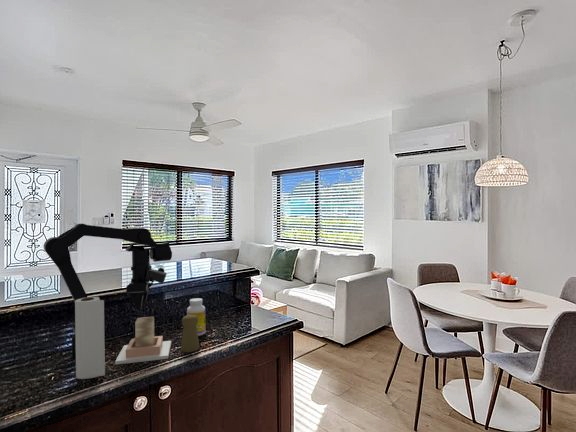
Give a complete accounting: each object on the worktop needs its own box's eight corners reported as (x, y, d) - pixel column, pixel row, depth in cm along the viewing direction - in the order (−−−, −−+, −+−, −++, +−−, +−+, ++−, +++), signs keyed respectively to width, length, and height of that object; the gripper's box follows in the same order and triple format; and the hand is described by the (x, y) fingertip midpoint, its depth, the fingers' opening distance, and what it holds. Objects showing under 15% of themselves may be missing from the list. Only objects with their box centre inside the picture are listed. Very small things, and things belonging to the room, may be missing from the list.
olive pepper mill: (194, 352, 110) (194, 318, 110) (177, 351, 112) (176, 317, 112) (202, 345, 116) (202, 313, 116) (186, 344, 118) (186, 312, 117)
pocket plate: (115, 364, 102) (115, 352, 102) (124, 348, 115) (124, 337, 115) (168, 358, 106) (168, 347, 106) (171, 343, 119) (171, 333, 119)
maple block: (135, 354, 107) (135, 322, 107) (138, 348, 112) (137, 317, 112) (152, 352, 109) (152, 320, 109) (154, 346, 113) (154, 316, 113)
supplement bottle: (206, 335, 126) (206, 300, 126) (188, 338, 124) (187, 302, 124) (204, 329, 132) (203, 296, 132) (186, 332, 130) (186, 298, 130)
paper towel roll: (73, 374, 96) (72, 298, 96) (97, 367, 100) (96, 295, 100) (80, 383, 91) (79, 303, 91) (105, 375, 95) (103, 299, 95)
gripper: (161, 265, 114) (162, 312, 114) (167, 258, 132) (168, 299, 133) (125, 267, 112) (126, 315, 112) (136, 260, 130) (137, 301, 130)
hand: (141, 306), depth 122 cm, fingers open, 9 cm apart
